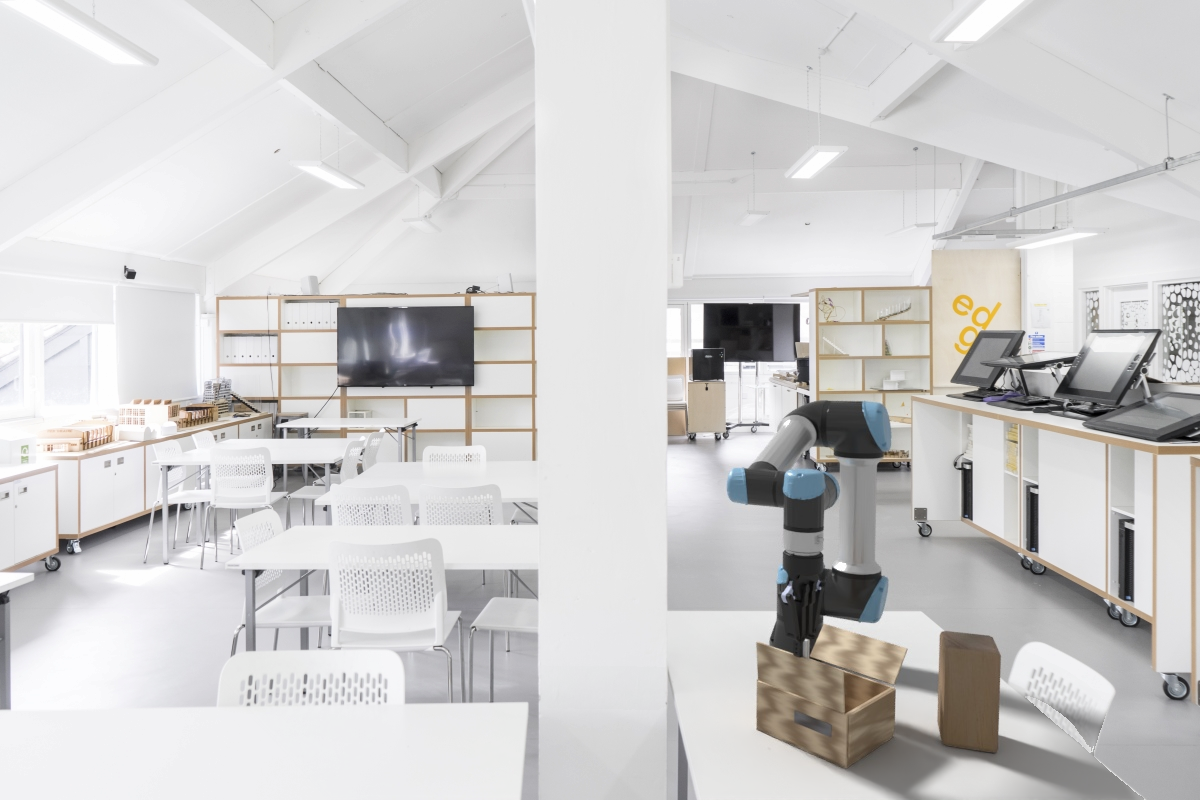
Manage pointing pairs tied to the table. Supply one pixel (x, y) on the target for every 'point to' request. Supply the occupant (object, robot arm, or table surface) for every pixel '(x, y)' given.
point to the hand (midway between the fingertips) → (801, 671)
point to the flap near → (801, 676)
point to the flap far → (859, 653)
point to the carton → (830, 719)
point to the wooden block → (969, 691)
